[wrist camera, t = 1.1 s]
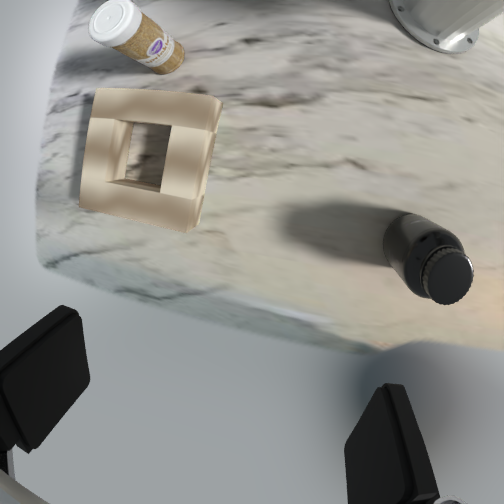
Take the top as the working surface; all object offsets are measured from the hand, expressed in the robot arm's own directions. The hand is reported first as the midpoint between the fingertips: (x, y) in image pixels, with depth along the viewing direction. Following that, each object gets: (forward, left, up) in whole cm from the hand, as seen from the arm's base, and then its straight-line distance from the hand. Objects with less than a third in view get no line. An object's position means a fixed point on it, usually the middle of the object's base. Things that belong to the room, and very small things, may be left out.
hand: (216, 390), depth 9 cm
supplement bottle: (-1, +16, -27) cm, 32 cm away
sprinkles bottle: (-16, -16, -27) cm, 36 cm away
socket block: (-4, -15, -27) cm, 32 cm away
